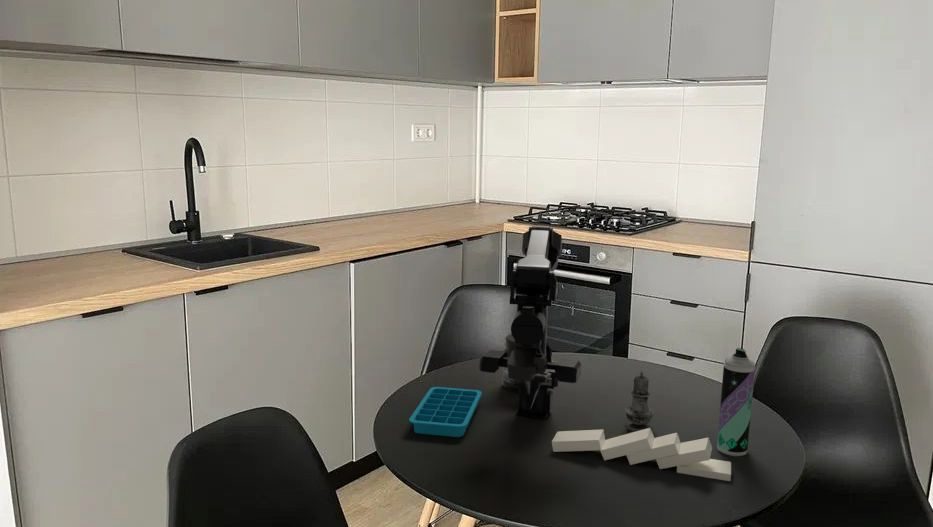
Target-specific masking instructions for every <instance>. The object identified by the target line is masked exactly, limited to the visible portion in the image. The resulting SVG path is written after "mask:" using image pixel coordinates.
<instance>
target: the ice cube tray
mask: <svg viewBox="0 0 933 527" xmlns="http://www.w3.org/2000/svg"><path fill="white" fill-rule="evenodd" d="M482 394H483V393H482V391H481V390H479V389H469V388H468V389H466V388H455V387H454V388H453V387H441V386H433V387H430V389H429V390H428V391H427V392H426V394H425V395H424V397H423V398H422V400H421V401H420V403H419V404H418V406H416V409H414V412H413V413H412V414H411V416H410V417H409V419H408V420H409V423H411V424H413V431H414V433H415V434H422V435H423V434H424V435H433V436H444V437H453V438H460V437H463V436H464V435H465V432H466V430H467V429H466V428H468V427H469V424H470V422H471V420H472V417H473V416H474V414H475V412H476V409H477V407H478V403H479V401H480V399H481V396H482ZM474 411H475V412H474ZM473 413H474V414H473Z"/></svg>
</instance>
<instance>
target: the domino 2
mask: <svg viewBox="0 0 933 527" xmlns="http://www.w3.org/2000/svg"><path fill="white" fill-rule="evenodd" d="M651 428H652V427H651ZM651 428H647V429H643V430H640V431H636V432H632V431H631V432H629V433H625V434H621V435H618V436H614V437H611V438H608V439H605V441H604V444H603V446H602V448H601V450H599V451H600V454H601V456H602V458H603V461H607V460H612V459H615V458H620V457H624V456H627V455H628V454H632V453H636V452H640V451H643V450H647V449H651V447H652V444H653V440H654V438H655V436H654V433H653V431H652V430H651Z"/></svg>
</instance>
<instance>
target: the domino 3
mask: <svg viewBox="0 0 933 527" xmlns="http://www.w3.org/2000/svg"><path fill="white" fill-rule="evenodd" d="M681 443H682V442H681V440H680V436H679V434H678V432H673V433H669V434H665V435H662V436H657V437H654V440H653V444H652V447H651V449H647V450H643V451H640V452H636V453H632V454H628V455H626V458H627V460H628V464H629V465H630V466H632V465H636V464H639V463H640V464H641V463H644V462H648V461H653V460H656V459H658V458H663V457H667V456H671V455H676V454H679V449H680V444H681Z"/></svg>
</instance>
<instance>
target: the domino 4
mask: <svg viewBox="0 0 933 527" xmlns="http://www.w3.org/2000/svg"><path fill="white" fill-rule="evenodd" d="M712 450H713V446H712V443H711V440H710V438H709V436H708V437H703V438H700V439H694V440H689V441H682V442H681V444H680V449H679V454H676V455H671V456H667V457H663V458H658V459H655V460H656V463H657V465H658V468H659V470H663V469H668V468H669V469H670V468H674V467H677V466H680V465H686V464H691V463H696V462H702V461H707V460H710V459H711V454H712Z"/></svg>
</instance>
